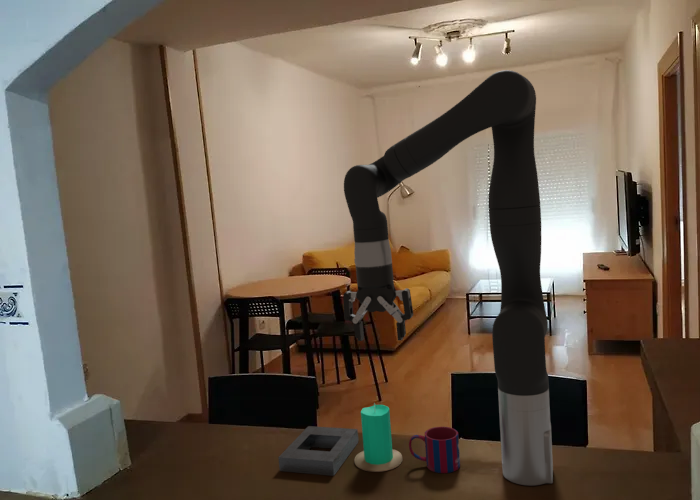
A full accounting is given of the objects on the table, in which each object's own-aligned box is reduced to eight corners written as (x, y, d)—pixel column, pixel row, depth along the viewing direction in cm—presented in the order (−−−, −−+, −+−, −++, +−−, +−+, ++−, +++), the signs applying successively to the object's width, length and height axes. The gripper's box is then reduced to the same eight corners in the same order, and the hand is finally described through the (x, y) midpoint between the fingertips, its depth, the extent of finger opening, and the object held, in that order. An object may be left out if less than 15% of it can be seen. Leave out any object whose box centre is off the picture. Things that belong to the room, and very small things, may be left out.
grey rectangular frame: (358, 441, 136) (357, 429, 136) (333, 475, 121) (332, 461, 121) (309, 438, 140) (308, 426, 140) (279, 471, 125) (278, 457, 125)
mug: (457, 474, 118) (455, 441, 117) (407, 471, 121) (405, 438, 120) (462, 459, 124) (460, 427, 123) (414, 456, 127) (412, 425, 126)
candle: (393, 451, 129) (389, 396, 128) (392, 464, 123) (388, 407, 122) (365, 452, 130) (360, 398, 128) (363, 465, 124) (358, 408, 122)
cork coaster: (407, 451, 130) (407, 449, 129) (395, 473, 120) (395, 471, 120) (362, 448, 133) (362, 446, 133) (348, 469, 123) (347, 467, 123)
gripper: (411, 258, 125) (417, 334, 127) (346, 261, 130) (353, 335, 131) (403, 263, 118) (410, 344, 120) (334, 267, 123) (342, 345, 124)
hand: (380, 339), depth 125 cm, fingers open, 8 cm apart
